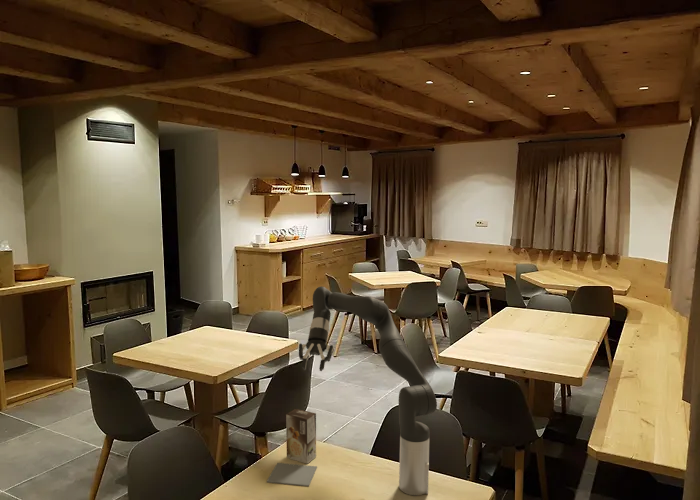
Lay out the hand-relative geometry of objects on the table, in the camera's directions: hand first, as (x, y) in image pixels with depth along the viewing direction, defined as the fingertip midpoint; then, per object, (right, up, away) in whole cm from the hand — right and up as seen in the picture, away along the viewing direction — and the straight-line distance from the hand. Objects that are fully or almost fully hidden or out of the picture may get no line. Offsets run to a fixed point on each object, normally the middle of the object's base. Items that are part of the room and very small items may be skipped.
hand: (312, 369), depth 200 cm
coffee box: (-3, -28, -14) cm, 32 cm away
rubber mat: (-5, -29, -26) cm, 39 cm away
